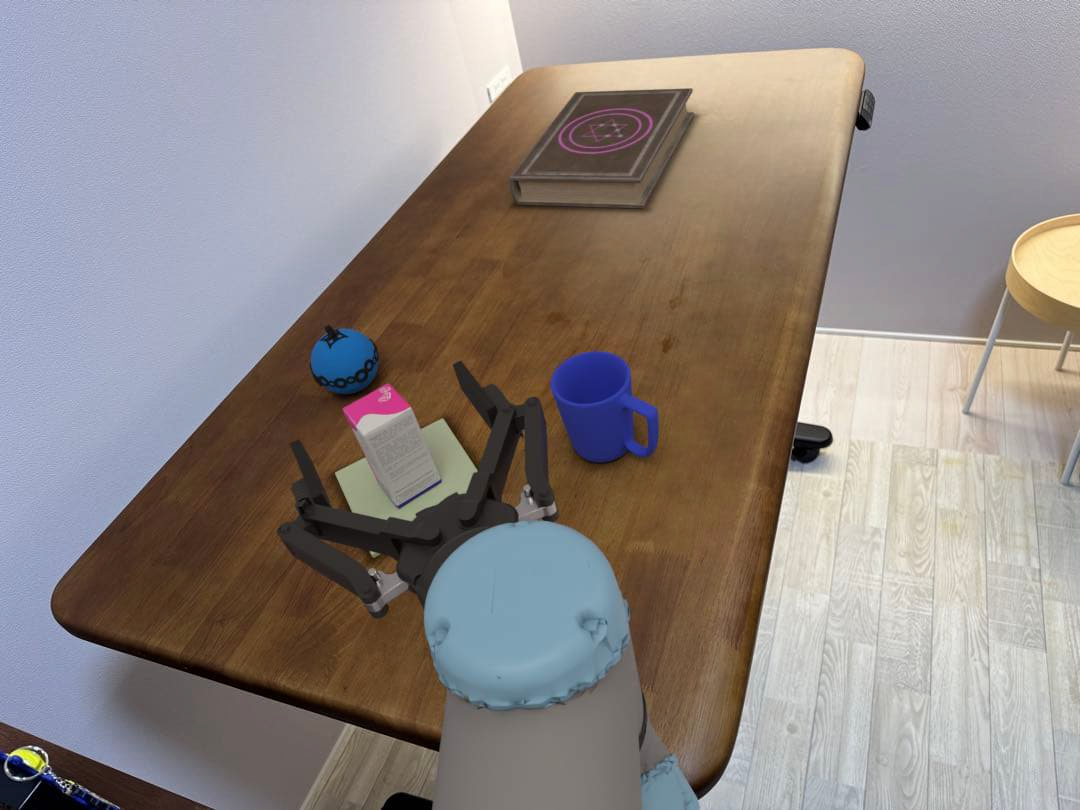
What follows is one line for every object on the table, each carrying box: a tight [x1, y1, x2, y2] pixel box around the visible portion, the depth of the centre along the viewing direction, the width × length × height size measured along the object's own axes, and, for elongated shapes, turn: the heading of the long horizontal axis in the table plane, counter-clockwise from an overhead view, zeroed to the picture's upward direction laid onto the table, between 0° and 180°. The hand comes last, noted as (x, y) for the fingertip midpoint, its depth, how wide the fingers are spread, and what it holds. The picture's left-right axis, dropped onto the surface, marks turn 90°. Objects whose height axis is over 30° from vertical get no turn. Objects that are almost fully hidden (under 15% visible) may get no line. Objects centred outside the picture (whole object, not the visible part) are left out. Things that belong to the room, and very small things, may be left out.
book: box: [508, 87, 695, 209], centre depth 131 cm, size 30×22×5 cm
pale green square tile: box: [334, 417, 478, 559], centre depth 87 cm, size 14×14×1 cm
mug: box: [550, 350, 660, 464], centre depth 81 cm, size 8×12×10 cm
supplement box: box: [342, 383, 442, 509], centre depth 83 cm, size 6×6×12 cm
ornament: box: [309, 324, 380, 395], centre depth 98 cm, size 9×9×10 cm
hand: (383, 412), depth 61 cm, fingers open, 13 cm apart
